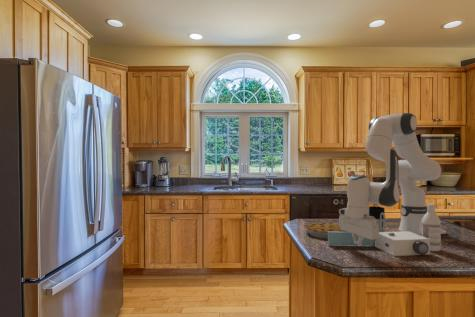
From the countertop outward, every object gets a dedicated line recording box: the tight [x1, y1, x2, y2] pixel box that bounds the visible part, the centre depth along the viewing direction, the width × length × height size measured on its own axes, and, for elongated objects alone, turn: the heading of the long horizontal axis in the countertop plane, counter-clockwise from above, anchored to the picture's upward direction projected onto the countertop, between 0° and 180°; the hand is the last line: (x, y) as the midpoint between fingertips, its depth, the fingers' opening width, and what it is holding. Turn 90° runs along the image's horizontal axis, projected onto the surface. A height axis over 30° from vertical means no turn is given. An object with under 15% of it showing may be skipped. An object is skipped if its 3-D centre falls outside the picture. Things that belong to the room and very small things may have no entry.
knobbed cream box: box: [375, 231, 431, 257], centre depth 129 cm, size 16×16×7 cm
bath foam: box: [421, 203, 442, 252], centre depth 132 cm, size 7×7×20 cm
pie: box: [305, 222, 347, 240], centre depth 158 cm, size 22×22×5 cm
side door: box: [327, 231, 376, 248], centre depth 137 cm, size 2×21×7 cm, turn 85°
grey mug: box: [369, 205, 386, 232], centre depth 149 cm, size 9×14×15 cm, turn 176°
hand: (357, 244), depth 129 cm, fingers closed
